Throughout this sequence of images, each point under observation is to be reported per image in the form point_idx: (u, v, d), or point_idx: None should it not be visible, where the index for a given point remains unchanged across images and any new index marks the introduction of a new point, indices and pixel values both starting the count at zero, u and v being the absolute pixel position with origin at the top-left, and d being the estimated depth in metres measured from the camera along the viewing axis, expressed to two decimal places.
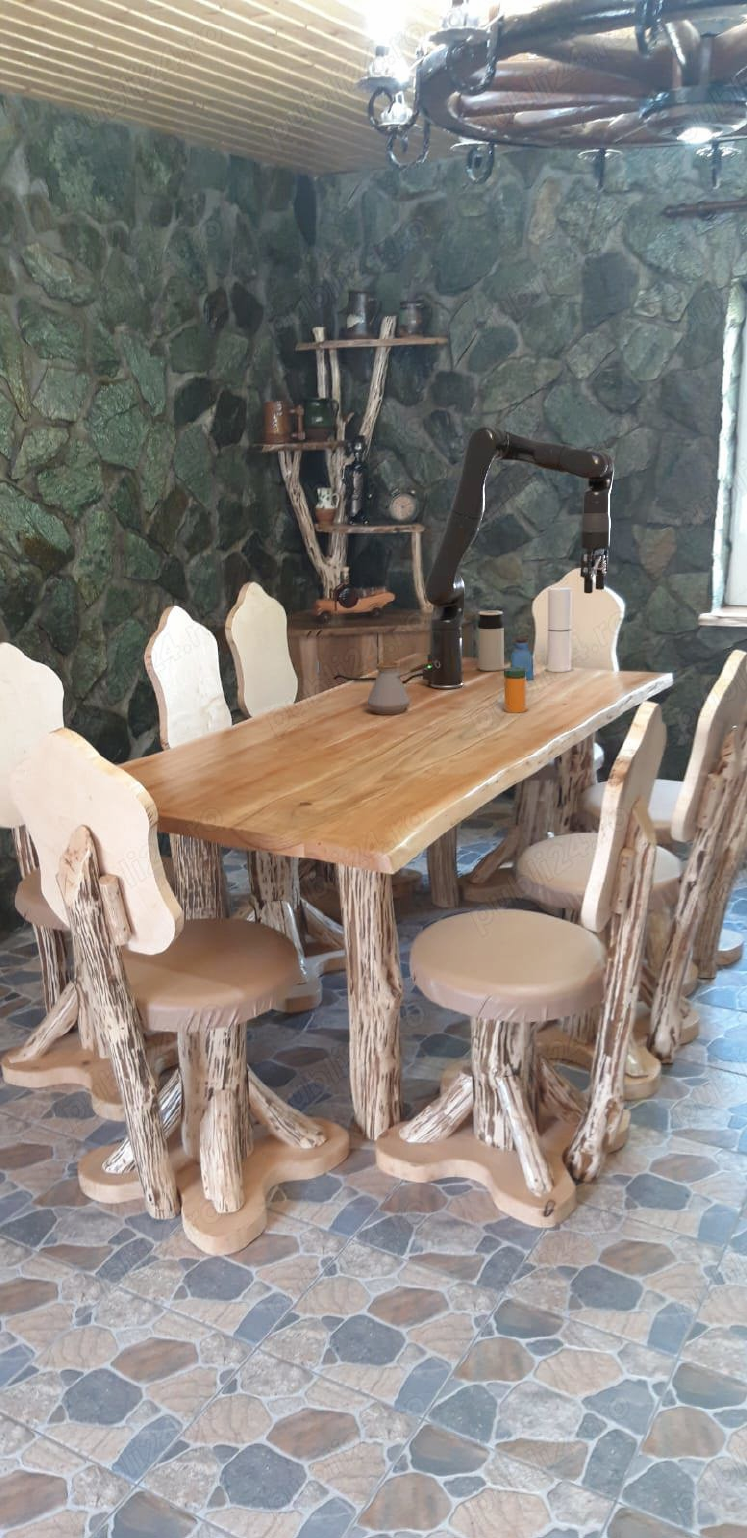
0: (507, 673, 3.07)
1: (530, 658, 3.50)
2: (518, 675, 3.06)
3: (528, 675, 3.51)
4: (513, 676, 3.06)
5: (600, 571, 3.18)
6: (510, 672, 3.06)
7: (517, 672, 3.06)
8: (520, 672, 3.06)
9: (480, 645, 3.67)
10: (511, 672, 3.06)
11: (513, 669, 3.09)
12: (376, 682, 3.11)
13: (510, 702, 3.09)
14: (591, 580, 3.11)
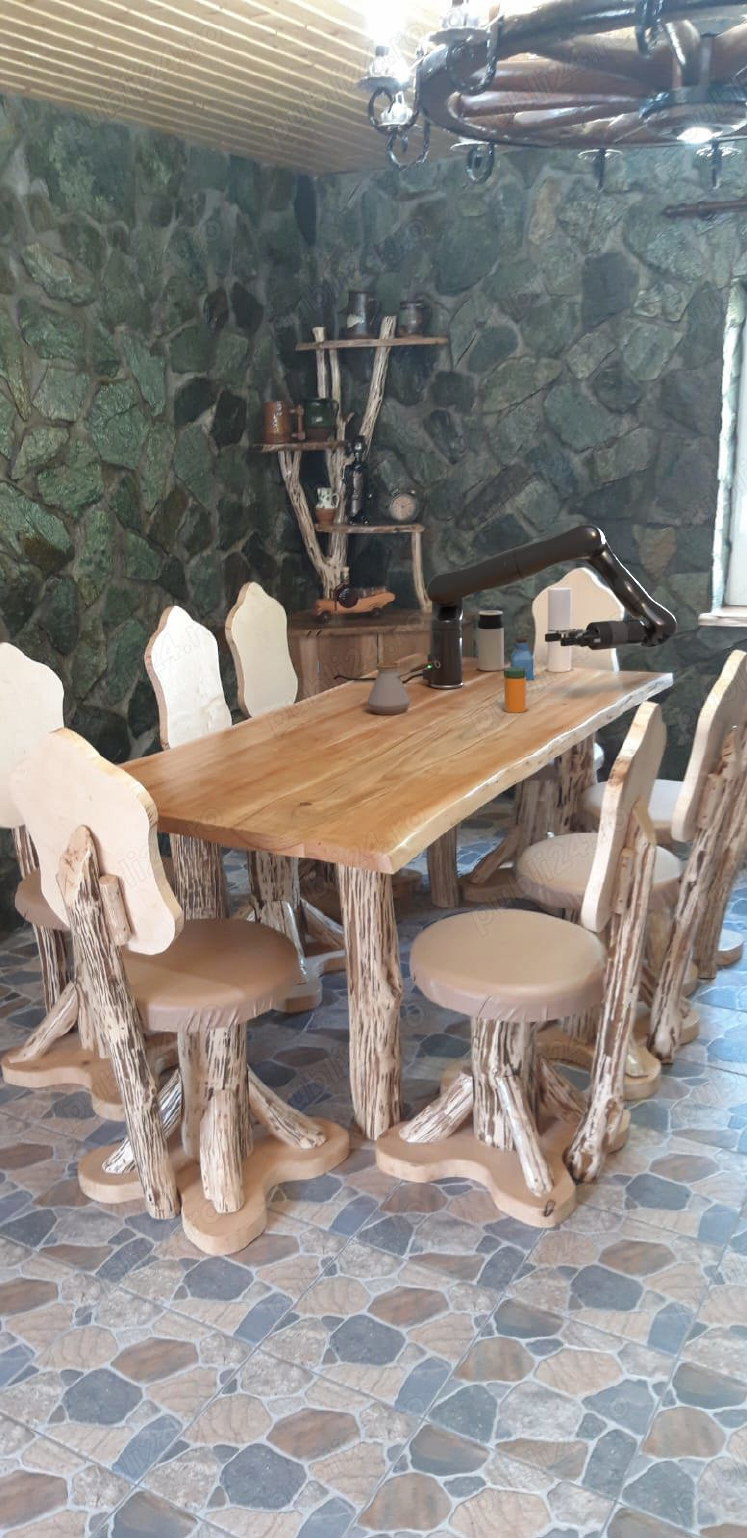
0: (507, 673, 3.07)
1: (530, 658, 3.50)
2: (518, 675, 3.06)
3: (528, 675, 3.51)
4: (513, 676, 3.06)
5: (561, 636, 3.16)
6: (510, 672, 3.06)
7: (517, 672, 3.06)
8: (520, 672, 3.06)
9: (480, 645, 3.67)
10: (511, 672, 3.06)
11: (513, 669, 3.09)
12: (376, 682, 3.11)
13: (510, 702, 3.09)
14: (572, 644, 3.08)
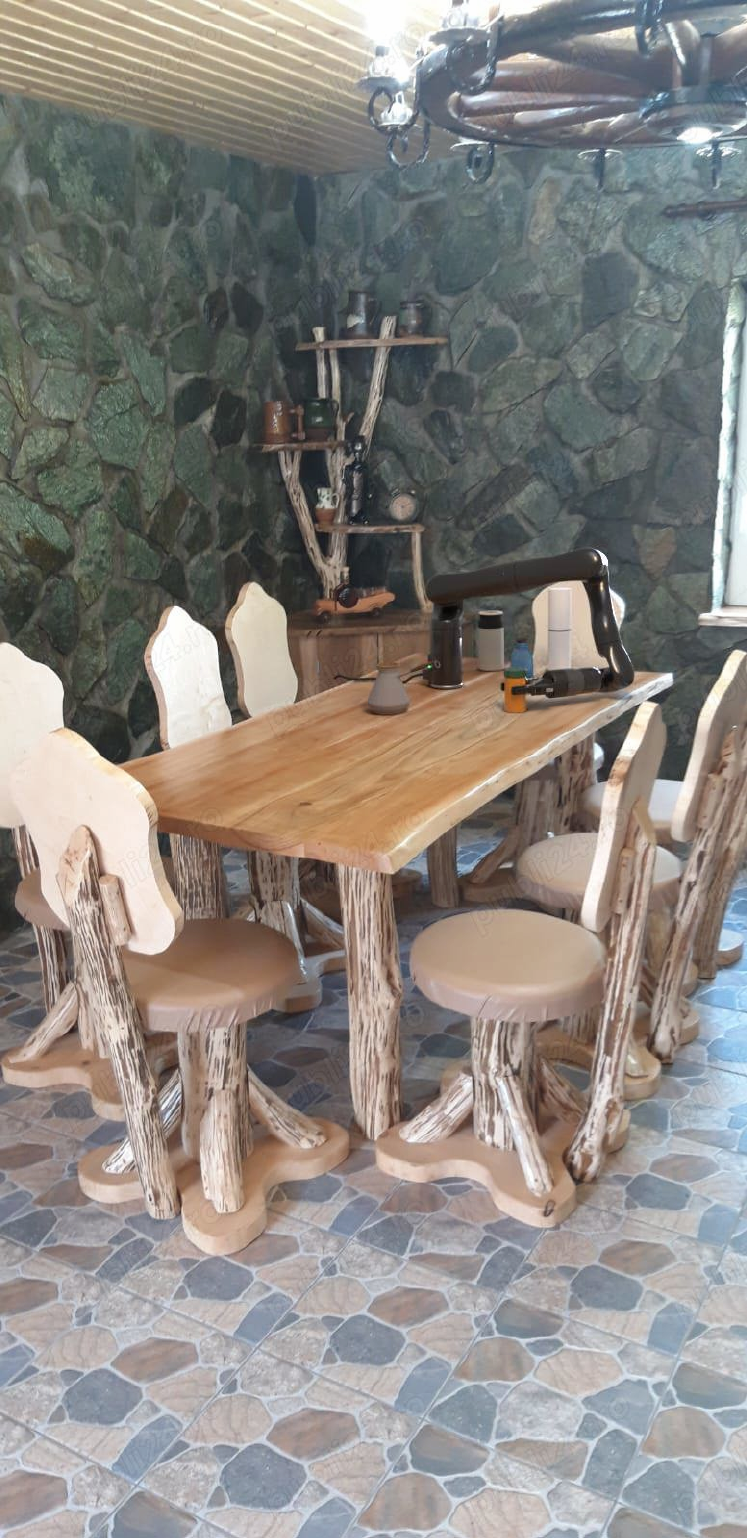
0: (507, 673, 3.07)
1: (530, 658, 3.50)
2: (518, 675, 3.06)
3: (528, 675, 3.51)
4: (513, 676, 3.06)
5: None
6: (510, 672, 3.06)
7: (517, 672, 3.06)
8: (520, 672, 3.06)
9: (480, 645, 3.67)
10: (511, 672, 3.06)
11: (513, 669, 3.09)
12: (376, 682, 3.11)
13: (510, 702, 3.09)
14: (523, 693, 3.07)
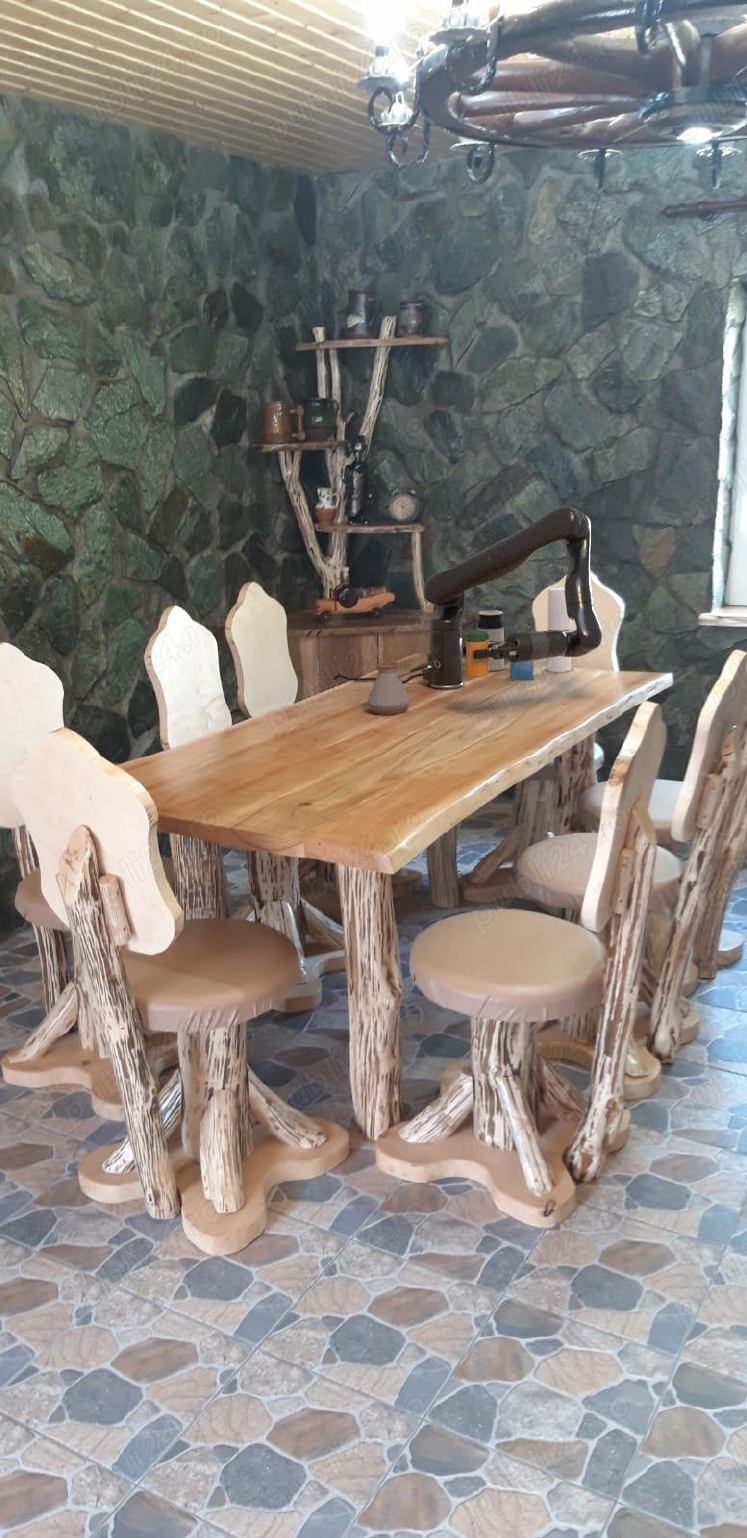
0: (469, 636, 2.96)
1: None
2: (480, 638, 2.95)
3: (528, 675, 3.51)
4: (474, 639, 2.95)
5: None
6: (471, 635, 2.95)
7: (479, 635, 2.95)
8: (482, 635, 2.95)
9: None
10: (472, 635, 2.95)
11: (475, 632, 2.98)
12: (376, 682, 3.11)
13: (472, 667, 2.98)
14: (486, 657, 2.96)
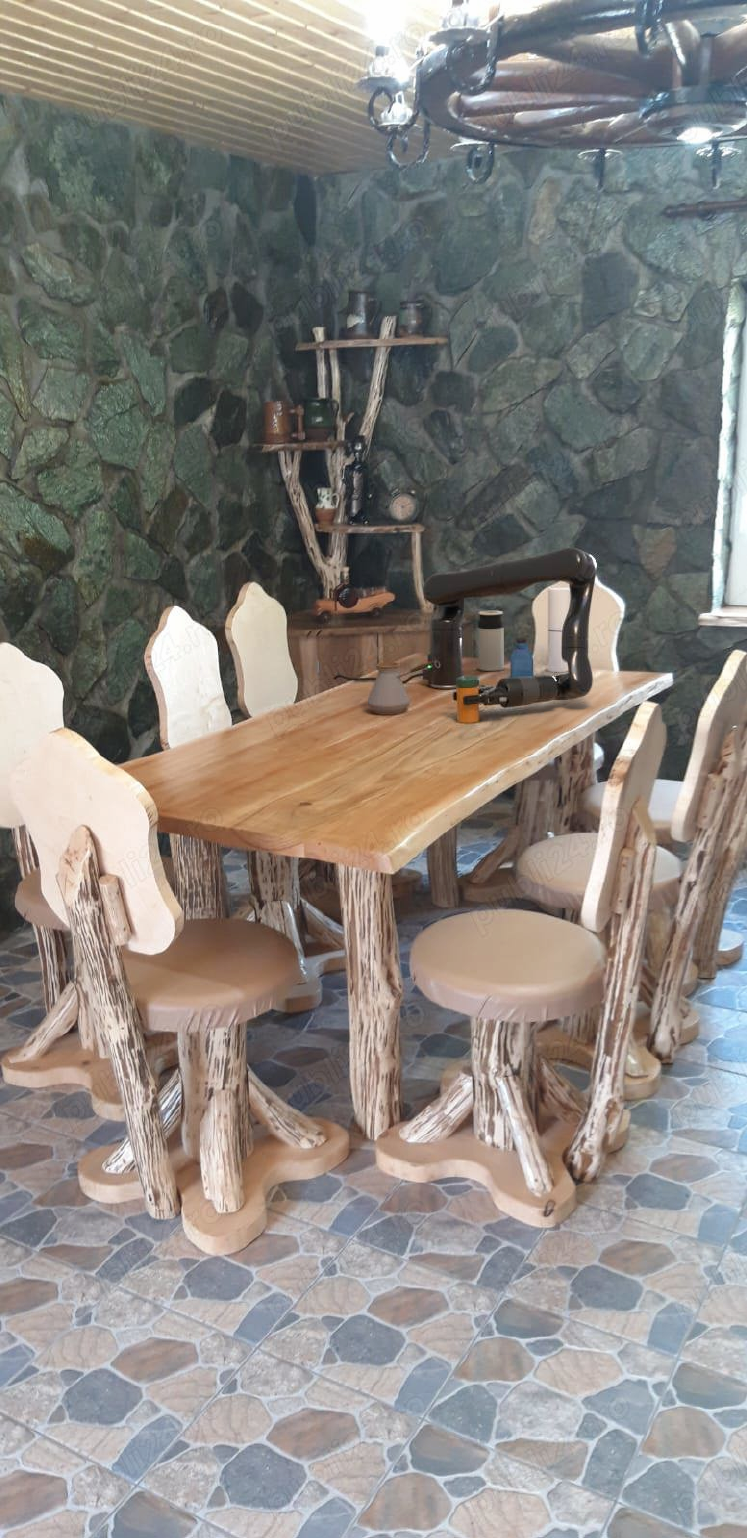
0: (459, 682, 2.97)
1: (530, 658, 3.50)
2: (470, 684, 2.96)
3: (528, 675, 3.51)
4: (464, 685, 2.96)
5: None
6: (462, 681, 2.96)
7: (469, 681, 2.96)
8: (472, 681, 2.96)
9: (480, 645, 3.67)
10: (463, 681, 2.96)
11: (465, 678, 2.98)
12: (376, 682, 3.11)
13: (463, 713, 2.99)
14: (476, 703, 2.97)
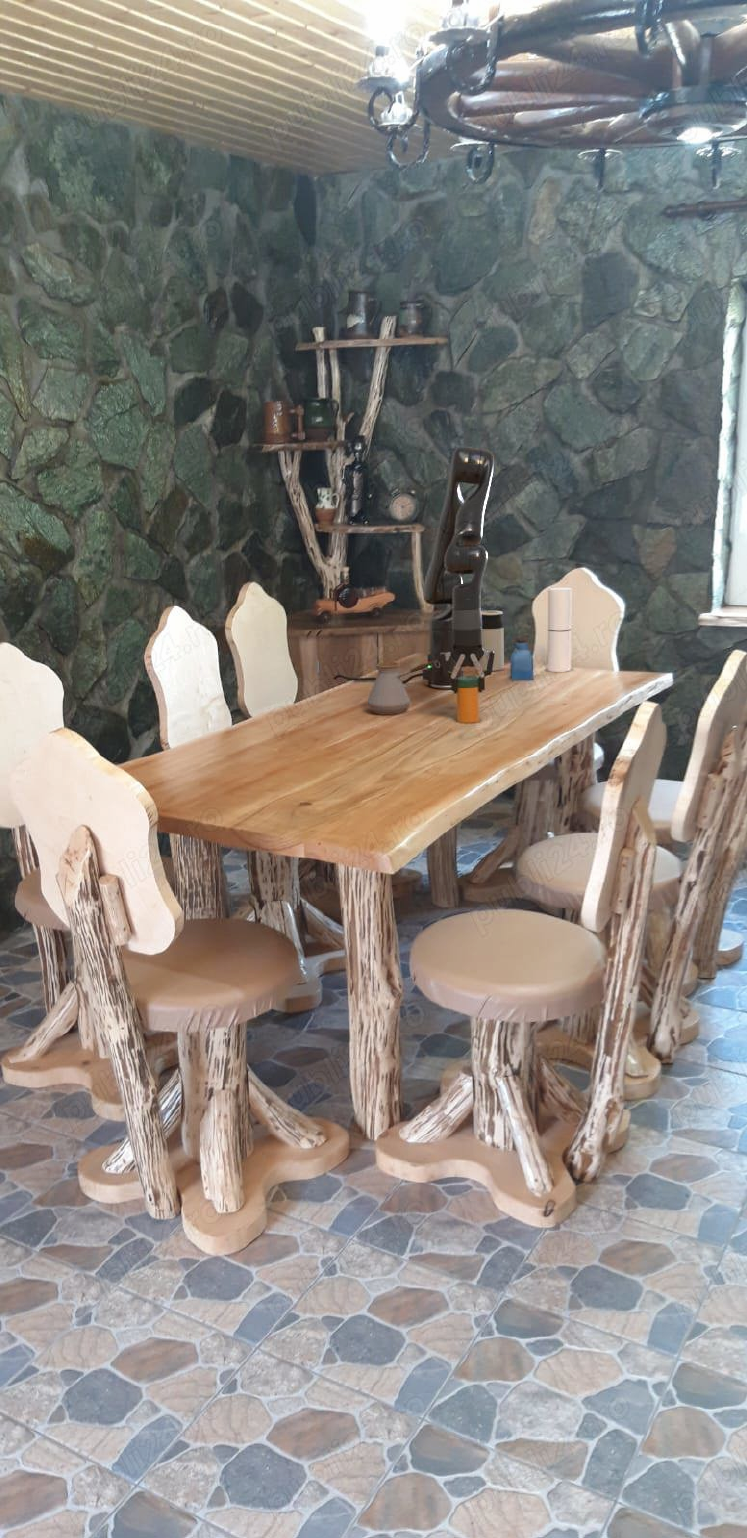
0: (459, 682, 2.97)
1: (530, 658, 3.50)
2: (470, 684, 2.96)
3: (528, 675, 3.51)
4: (465, 685, 2.96)
5: None
6: (462, 681, 2.96)
7: (469, 681, 2.96)
8: (472, 681, 2.96)
9: None
10: (463, 681, 2.96)
11: (465, 678, 2.99)
12: (376, 682, 3.11)
13: (463, 713, 2.99)
14: (454, 680, 2.98)
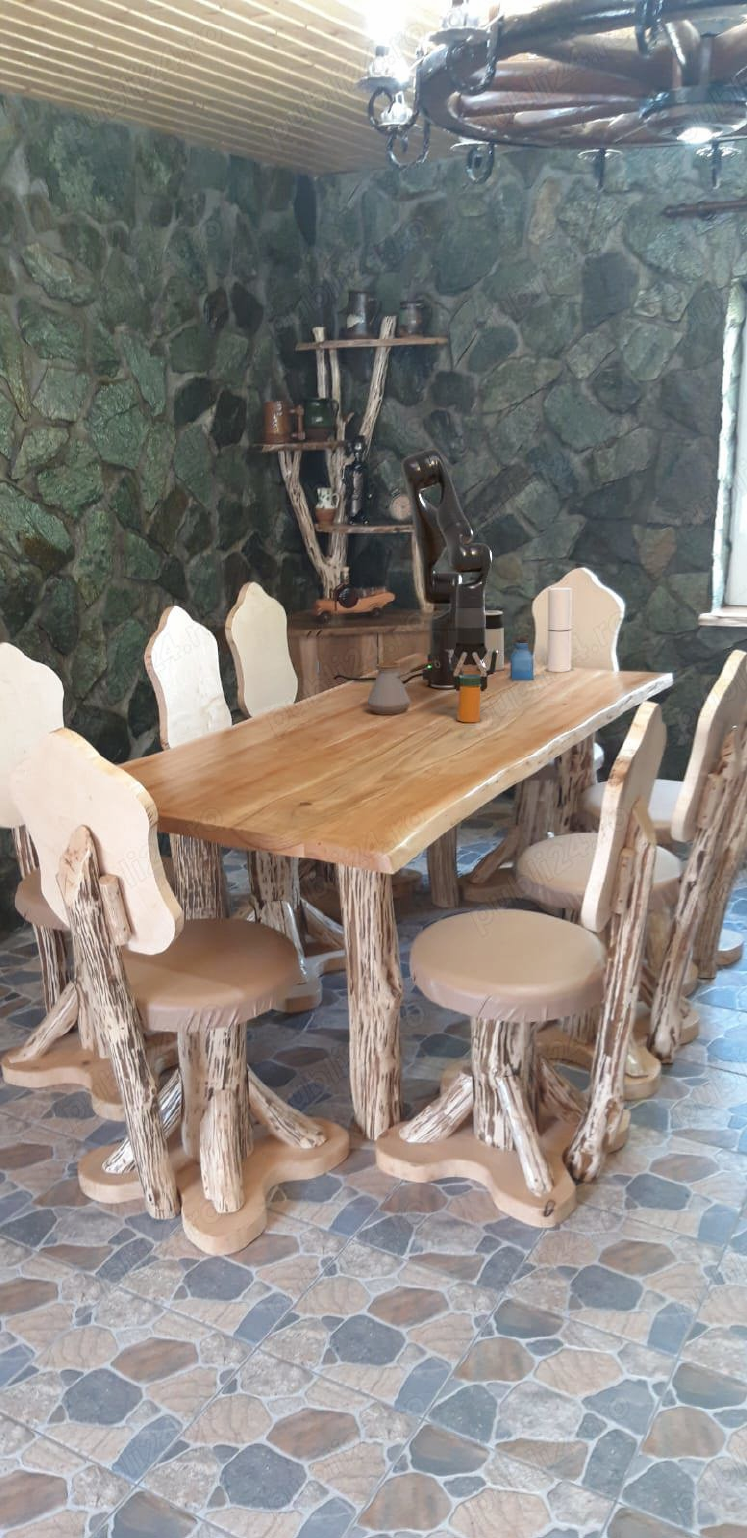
0: None
1: (530, 658, 3.50)
2: None
3: (528, 675, 3.51)
4: None
5: None
6: None
7: None
8: None
9: None
10: None
11: (472, 676, 2.99)
12: (376, 682, 3.11)
13: (464, 712, 2.98)
14: None
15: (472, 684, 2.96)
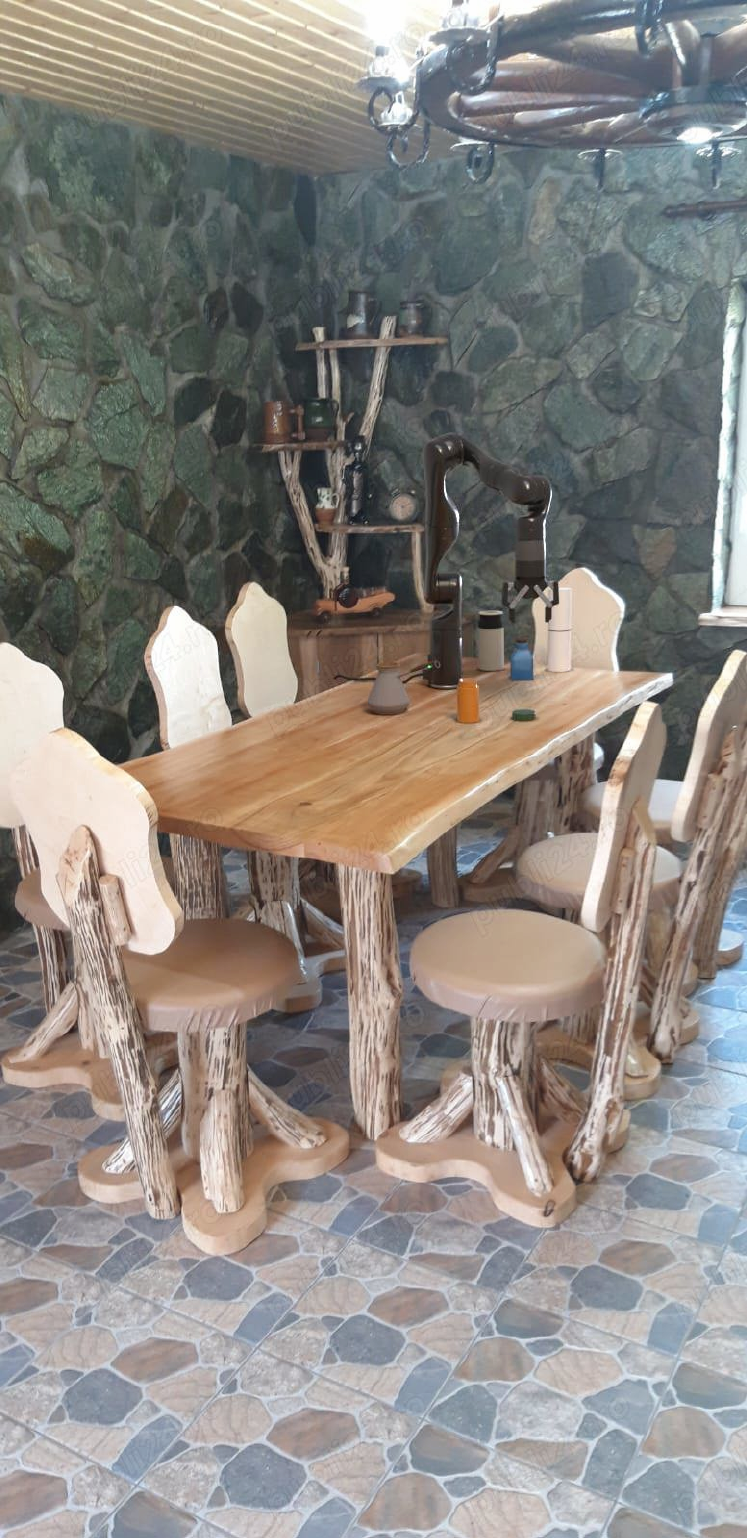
0: None
1: (530, 658, 3.50)
2: None
3: (528, 675, 3.51)
4: None
5: None
6: None
7: None
8: None
9: (480, 645, 3.67)
10: None
11: (525, 711, 3.02)
12: (376, 682, 3.11)
13: (463, 713, 2.98)
14: None
15: (528, 719, 2.99)
